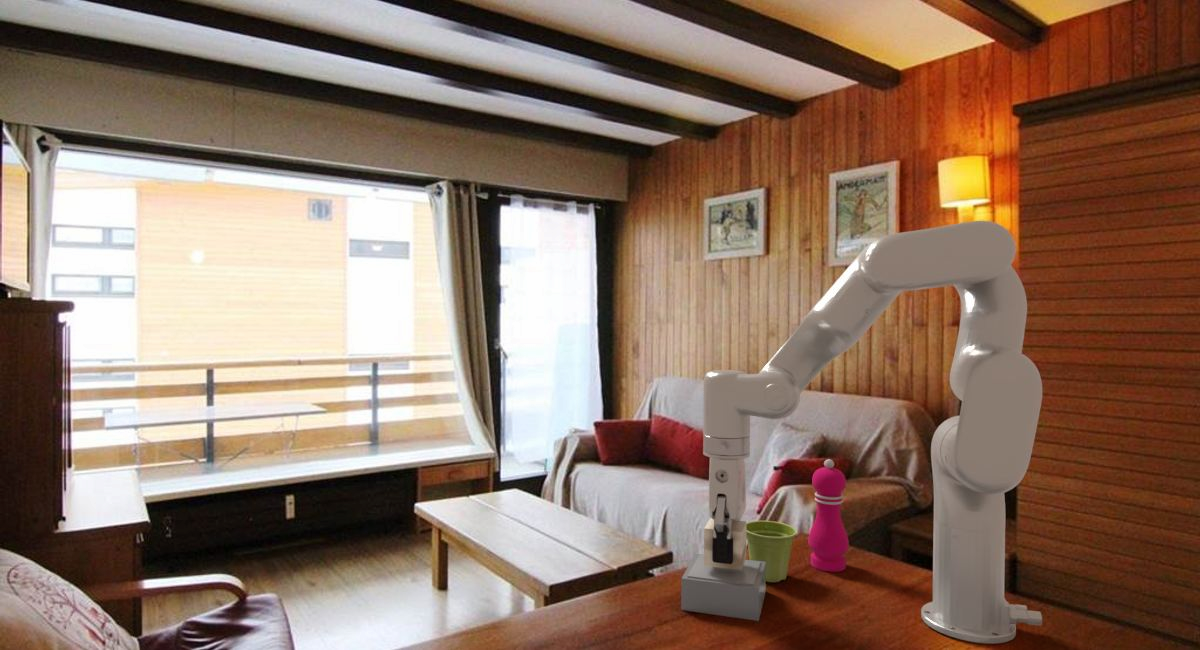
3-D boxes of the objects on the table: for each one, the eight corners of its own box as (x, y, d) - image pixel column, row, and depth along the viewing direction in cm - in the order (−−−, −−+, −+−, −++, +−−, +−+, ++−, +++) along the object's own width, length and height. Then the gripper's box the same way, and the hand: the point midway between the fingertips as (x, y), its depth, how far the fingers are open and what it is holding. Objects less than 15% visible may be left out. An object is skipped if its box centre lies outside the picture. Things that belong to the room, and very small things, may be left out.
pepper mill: (821, 556, 133) (822, 453, 132) (856, 567, 127) (857, 460, 127) (800, 564, 128) (801, 458, 128) (834, 576, 122) (835, 465, 122)
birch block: (746, 557, 114) (746, 521, 113) (741, 569, 108) (742, 532, 108) (710, 553, 115) (710, 517, 115) (703, 565, 110) (704, 528, 110)
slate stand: (765, 591, 116) (765, 560, 115) (758, 620, 104) (758, 587, 104) (695, 581, 119) (695, 552, 119) (681, 609, 108) (681, 577, 108)
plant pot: (791, 568, 126) (791, 521, 126) (800, 588, 117) (801, 537, 117) (739, 565, 127) (740, 519, 127) (745, 585, 118) (745, 535, 118)
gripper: (743, 457, 102) (742, 577, 102) (755, 438, 118) (754, 541, 119) (693, 454, 104) (693, 571, 105) (712, 435, 121) (711, 537, 121)
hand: (725, 554), depth 112 cm, fingers closed on birch block, 6 cm apart
